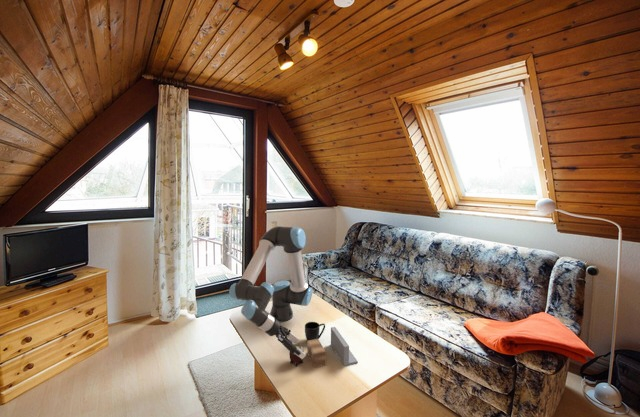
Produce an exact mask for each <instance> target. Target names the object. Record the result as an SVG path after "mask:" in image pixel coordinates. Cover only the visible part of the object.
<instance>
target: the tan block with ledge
mask: <svg viewBox="0 0 640 417" xmlns="http://www.w3.org/2000/svg"><path fill="white" fill-rule="evenodd" d="M306 346H307V347H306V348H307V349H306V350H307V351H306V355H307V356H308V358H309V360H310V362H311V364H312V366H313V368H319V367H322V366H327V365H326V364H327V363H326V354H327V352H326V350H325V348H324V347H323V345H322V343H321V341H320V338H319V339H314V340H308V341H307V340H306Z"/></svg>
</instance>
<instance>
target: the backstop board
mask: <svg viewBox="0 0 640 417" xmlns="http://www.w3.org/2000/svg"><path fill="white" fill-rule="evenodd" d="M330 346H331V347H332V349H333V351H334V352H335V353H336V354H335V355H337V356H338V359H339V360H340V362H341V363H342V364H343V366H344V367H347V366H350V365H356V364H358V360H357V358H356V357H355V355H354V354H353V353H352V352H351V350H350V345H349V344H348V343H347V341H346V340H345V338H344V337H343V336H342V334H341V333H340V332H339V330H338V329H337V327H336V326H332V327H330Z"/></svg>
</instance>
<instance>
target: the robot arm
mask: <svg viewBox="0 0 640 417" xmlns="http://www.w3.org/2000/svg"><path fill="white" fill-rule="evenodd" d="M306 237H307V236H306V232H305V231H304V230H303V229H302V228H301V227H297V226H296V227H295V226H293V227H291V226H280V225H279V226H274V227H272V228H270V229H269V230H267V231H266V232H265V233H264V234H263V235H262V236H261V238H260V240H259V242H258V244H259V245H258V247H257V249H256V250H255V252H254V254H253V256H252V257H251V260H250V261H249V264H248V265H247V267H246V269H245V270H244V273H242V276H241V278H240V279H239V281H238V282H234V283H233V284H231V285H230V287H229V291H228V293H229V297H230V298H232V299H234V300H235V299H236V300H238V301H239V300H240V301H241V300H242V301H246V302H245V303H244V304H243V306H241V310H240V313H241V314H242V316H243V317H244V318H246V320H248V321H250V322H251V323H253V324H254V325H255V326H256V327H258V329H259V330H260V329H261V330H262V331H264V333H265V334H267V335H268V336H269V337H273V336H275V337H276V338H277V341H278V342H279V343H280V344H282V345H283V346H284V347H285V348H286V349H287V350H288V351H289V352H291V354H294V353H295V354H296V355H297V356H299V357H300V358H301V359H303V360H304V358H305V357H306V356H307V353H305V352H304V350H303V351H301V350H300V349H299V348H297V347H295V346H294V345H298V342H300V338H298V337H297V336H296V335H295V334H293V333H292V330H291V329H288V328H287V326H286V327H285V326H283V325H282V324H281V322H287V321H291V319H292V318H293V317H294V313H293V309H292V306H291V305H297V306H301V307H303V306H304V307H307V306H308V305H309V304H310V303H311V300H312V297H313V288H312V287H309V283H308V281H306V279H305V277H306V276H305V271H304V270H305V268H304V262H303V256H302V251H303V249H304V248H305V245H306V240H307V238H306ZM276 247H283V252H284V253H285V254H286V255H287V262H288V263H287V264H288V267H289V268H288V270H289V276H290V280H291V281H289V280H281V281H280V280H279V281H276V282H275V283H273V284H271V283H269V282H267V281H264V282H262V283H261V284H260V285H259V286H258V285H257V286H256V285H255V284H256V281H257V279H258V277H259V276H260V274H261V271H262V270H263V268H264V266H265V264H266V262H267V259H268V257H269V256H270V254H271V252H273V251H274V249H275V248H276ZM271 300H272V306H271V310H270V312H268V311H266V309H267V307H268V304H269V302H270V301H271ZM289 339H290V340H292V342H293V343H294V344H293V343H292V342H291V341H290V340H289Z"/></svg>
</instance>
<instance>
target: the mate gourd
mask: <svg viewBox="0 0 640 417" xmlns="http://www.w3.org/2000/svg"><path fill="white" fill-rule="evenodd" d="M288 339H289V338H288ZM289 340H290V339H289ZM290 341H291V342H292V340H290ZM292 343H294V342H292ZM293 345H294V346H295V347H297V348H299V349H300V350H301V351H303V352H304V348H303V346H302V345H300V344H293ZM289 360H290V361H289V363H290V364H294V365H295V367H298V364H302V363H304V361H303V360H304V358H303V359H301V358H300V357H299V356H297V355H296V354H295V353H294V354H291V352H290V351H289Z"/></svg>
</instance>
